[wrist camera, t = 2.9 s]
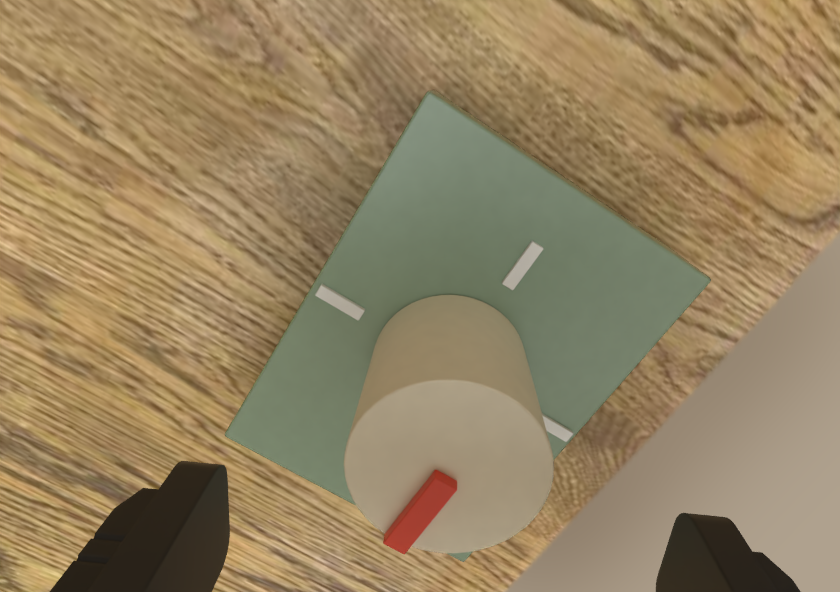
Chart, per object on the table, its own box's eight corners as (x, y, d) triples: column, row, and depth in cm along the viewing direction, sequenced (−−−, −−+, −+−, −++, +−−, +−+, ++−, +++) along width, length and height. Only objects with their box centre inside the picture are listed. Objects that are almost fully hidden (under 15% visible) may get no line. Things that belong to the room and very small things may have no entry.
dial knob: (424, 264, 15) (412, 347, 10) (557, 346, 16) (602, 458, 11) (345, 383, 17) (303, 504, 12) (470, 453, 17) (477, 595, 13)
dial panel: (431, 88, 17) (427, 89, 14) (672, 249, 18) (716, 282, 15) (254, 388, 20) (221, 439, 17) (462, 501, 22) (463, 567, 19)
